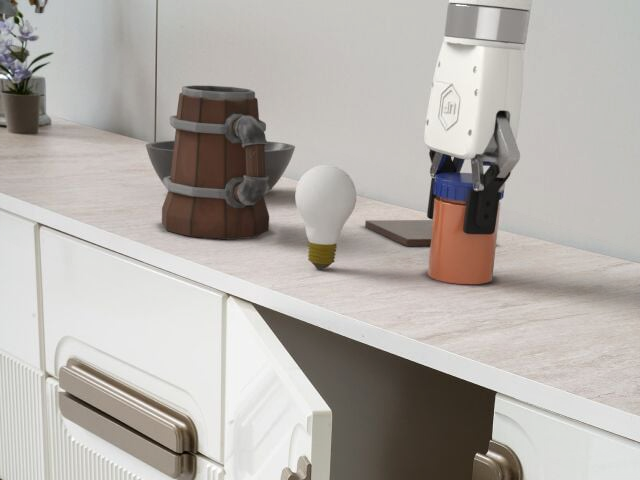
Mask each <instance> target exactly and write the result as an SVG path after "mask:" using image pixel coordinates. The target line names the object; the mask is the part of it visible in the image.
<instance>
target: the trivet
mask: <svg viewBox="0 0 640 480" xmlns="http://www.w3.org/2000/svg"><path fill="white" fill-rule="evenodd" d="M364 222H365V223H364V227H365V228H367V229H369V230H371V231H373V232H375V233H377V234H380V235H381V236H384V237H386V238H387V239H390V240H393V241H395V242H397V243H398V244H399V243H400V244H401V245H403V246H406V247H430V245H431V233H432V222H433V220H432V219H393V220H392V219H391V220H390V219H387V220H386V219H383V220H382V219H380V220H378V219H377V220H375V219H374V220H373V219H372V220H365V221H364Z"/></svg>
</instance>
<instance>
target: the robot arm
mask: <svg viewBox="0 0 640 480" xmlns="http://www.w3.org/2000/svg"><path fill="white" fill-rule="evenodd" d="M532 4H533V0H448V4H447V10H446V19H445V25H444V26H445V27H444V34H443V35H444V36H443V40H442V45H441V47H440V50H439V54H438V58H437V61H436V64H435V68H434V69H435V70H434V74H433V78H432V83H431V88H430V93H429V94H430V95H429V98H428V99H429V100H428V106H427V111H426V118H425V124H424V132H423V142H424V144H425V146H426V147H427V149H429V152H428V156H429V159H430V162H431V166H430V168H429V175H430V177H431V178H430V188H429V196H428V203H427V212H426V217H427V218H428V220H433V210H434V199H435V197H437V196H436V195H434V193H433V188H434V180H435V176H436V175H437V174H441V173H461V171H462V168H463V166H464V163H465V160H470V165H471V166H470V167H471V173H472V180H473V189H474V190H468V196H467V203H466V211H465V218H464V225H463V231H464V232H465V233H467V234H493V233H494V231H495V226H496V219H497V212H498V205H499V202H500V200H499V198H500V192H503V191H504V192H505V187H506V182H507V181H508V179H509V178H510V176H511V173H512V172H513V170H514V168H515V167H516V165H517V164H518V162H520V159H521V153H520V150H519V147H518V144H517V138H518V132H519V125H520V117H521V107H522V95H523V83H524V51H525V50H526V45H527V39H528V31H529V23H530V18H531V17H530V16H531V10H532ZM452 157H453V158H452ZM484 167H488V168H487V170H486V171H485V173H484Z"/></svg>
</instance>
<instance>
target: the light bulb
mask: <svg viewBox="0 0 640 480" xmlns="http://www.w3.org/2000/svg"><path fill="white" fill-rule="evenodd" d="M294 197H295V206H296V208H297V210H298V213H299V215H300V217H301V219H302V221H303V223H304V227H305V228H304V229H305V234H306V237H307V240H308V242H307V243H308V248H307V249H308V252H307V254H308V255H307V256H308V258H307V259H308V262H310V263H311V264H312V265H313V266H314V268H316V269H317V270H326V269H328V267H330V266H331V265H332V264H333V263H335V259H336V251H337V250H336V248H337V246H338V245H337V243H338V241H339V240H340V237H341V232H342V230H343V228H344V226H345V225H346V222H347V221H348V219H349V218H350V217H351V216H352V214H353V212H354V210H355V207H356V203H357V189H356V186H355V183H354V182H353V179H352V178H351V176H350V175H349V174H348V172H346V171H345V170H344V169H342V168H340V167H338V166H336V165H333V164H320V165H316V166H314V167H311V168H309V170H307V171H306V172H304V173H303V175H302V176H301V178H300V179H299V181H298V182H297V185H296V188H295V195H294Z"/></svg>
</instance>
